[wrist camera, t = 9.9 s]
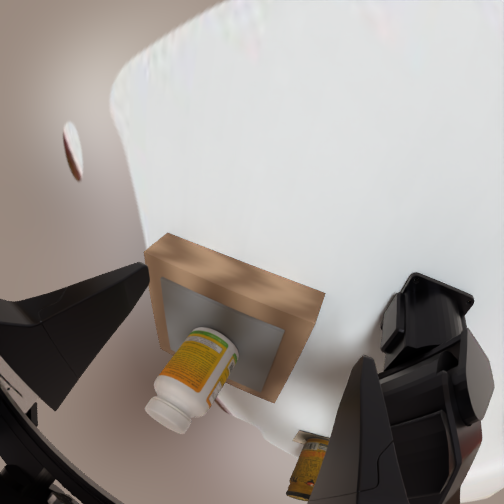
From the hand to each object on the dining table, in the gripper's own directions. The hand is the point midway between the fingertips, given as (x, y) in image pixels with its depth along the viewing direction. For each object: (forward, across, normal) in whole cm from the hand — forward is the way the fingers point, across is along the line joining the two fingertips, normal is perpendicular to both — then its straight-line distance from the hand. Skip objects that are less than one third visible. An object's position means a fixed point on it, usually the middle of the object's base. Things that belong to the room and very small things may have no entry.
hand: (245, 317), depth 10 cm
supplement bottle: (+8, +5, +16) cm, 19 cm away
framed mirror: (+12, +5, +16) cm, 21 cm away
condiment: (+12, -14, +42) cm, 46 cm away
